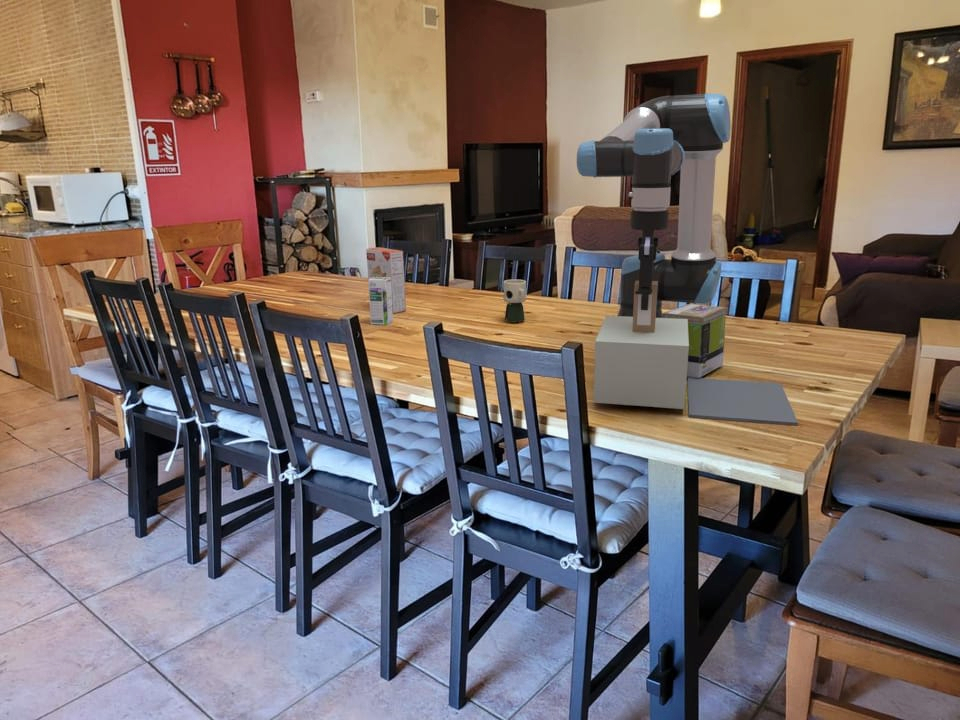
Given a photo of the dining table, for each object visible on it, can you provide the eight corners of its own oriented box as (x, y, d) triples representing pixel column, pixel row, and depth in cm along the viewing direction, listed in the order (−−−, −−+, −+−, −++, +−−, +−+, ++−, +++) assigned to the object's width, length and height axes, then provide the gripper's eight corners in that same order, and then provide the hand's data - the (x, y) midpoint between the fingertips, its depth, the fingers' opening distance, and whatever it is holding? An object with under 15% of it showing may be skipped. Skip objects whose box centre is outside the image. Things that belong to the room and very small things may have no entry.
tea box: (684, 360, 177) (688, 302, 173) (723, 366, 171) (728, 306, 167) (658, 372, 166) (661, 310, 162) (699, 379, 159) (704, 315, 156)
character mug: (496, 319, 224) (496, 279, 220) (516, 317, 227) (516, 277, 223) (513, 326, 215) (513, 284, 211) (533, 324, 218) (533, 282, 214)
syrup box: (370, 324, 220) (367, 279, 216) (377, 320, 226) (374, 276, 222) (387, 325, 219) (384, 279, 215) (393, 321, 224) (391, 276, 220)
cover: (604, 369, 165) (607, 272, 158) (683, 374, 160) (690, 274, 153) (593, 402, 143) (596, 291, 137) (684, 409, 139) (692, 295, 132)
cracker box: (368, 308, 244) (365, 248, 239) (383, 305, 248) (379, 246, 242) (392, 314, 234) (388, 251, 229) (406, 311, 238) (403, 250, 232)
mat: (687, 379, 162) (687, 377, 161) (780, 385, 156) (780, 383, 156) (688, 417, 139) (689, 414, 138) (797, 425, 133) (798, 422, 133)
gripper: (633, 205, 150) (628, 312, 156) (627, 212, 134) (623, 331, 140) (669, 205, 148) (663, 313, 155) (668, 212, 132) (661, 332, 138)
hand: (644, 321), depth 147 cm, fingers closed on cover, 4 cm apart
